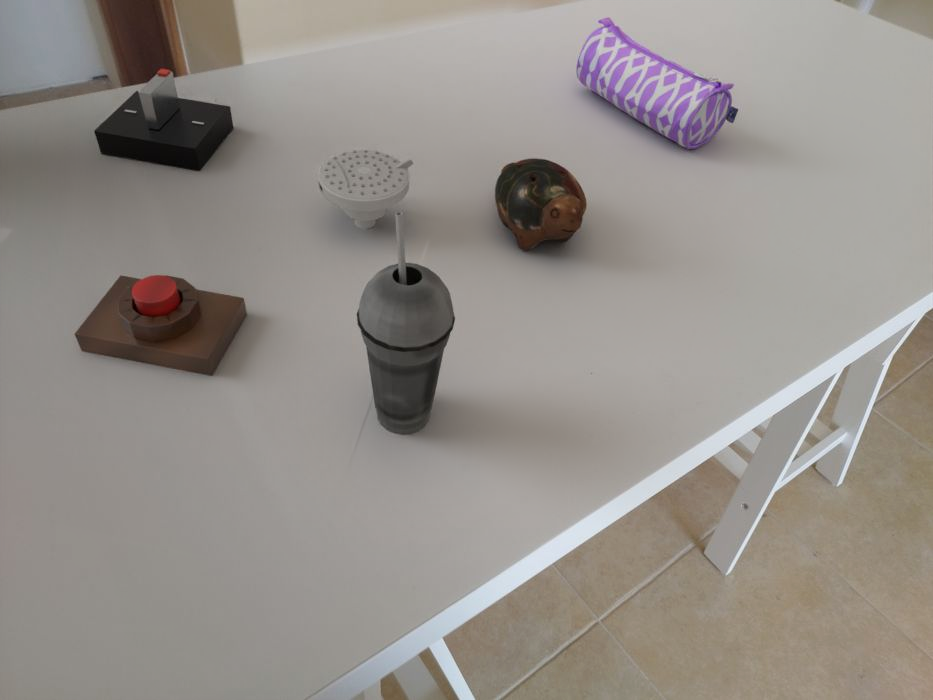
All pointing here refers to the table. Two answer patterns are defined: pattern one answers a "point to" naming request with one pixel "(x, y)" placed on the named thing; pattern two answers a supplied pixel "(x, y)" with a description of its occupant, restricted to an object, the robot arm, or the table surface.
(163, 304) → the stop button
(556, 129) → the table surface
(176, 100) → the grey rectangular plate
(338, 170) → the showerhead
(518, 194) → the decorative turtle
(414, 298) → the beverage cup
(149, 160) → the black lever switch box
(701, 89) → the pencil case
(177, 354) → the button block
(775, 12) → the table surface
